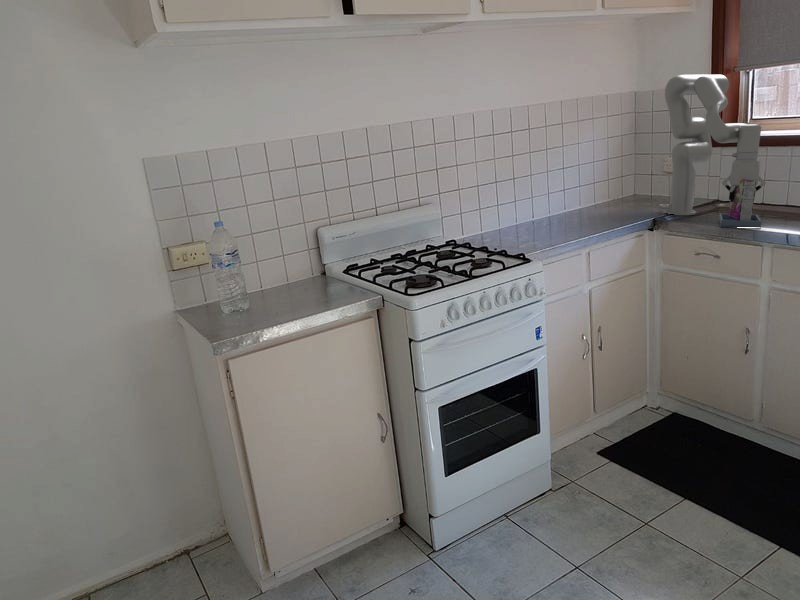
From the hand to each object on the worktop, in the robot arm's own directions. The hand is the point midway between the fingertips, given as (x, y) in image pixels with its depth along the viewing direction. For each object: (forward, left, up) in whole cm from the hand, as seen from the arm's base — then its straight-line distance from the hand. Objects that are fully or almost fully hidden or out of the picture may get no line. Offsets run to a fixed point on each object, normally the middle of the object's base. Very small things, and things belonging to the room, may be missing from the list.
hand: (741, 201), depth 257 cm
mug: (-22, +46, -10) cm, 52 cm away
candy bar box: (0, 0, -7) cm, 7 cm away
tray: (0, 0, -9) cm, 9 cm away
